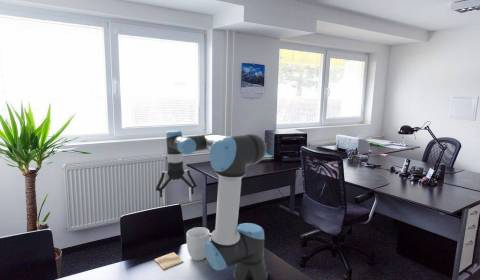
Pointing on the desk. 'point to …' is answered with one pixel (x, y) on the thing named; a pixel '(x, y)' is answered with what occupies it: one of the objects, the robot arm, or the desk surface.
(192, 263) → the desk surface
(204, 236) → the mug
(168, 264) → the coaster
